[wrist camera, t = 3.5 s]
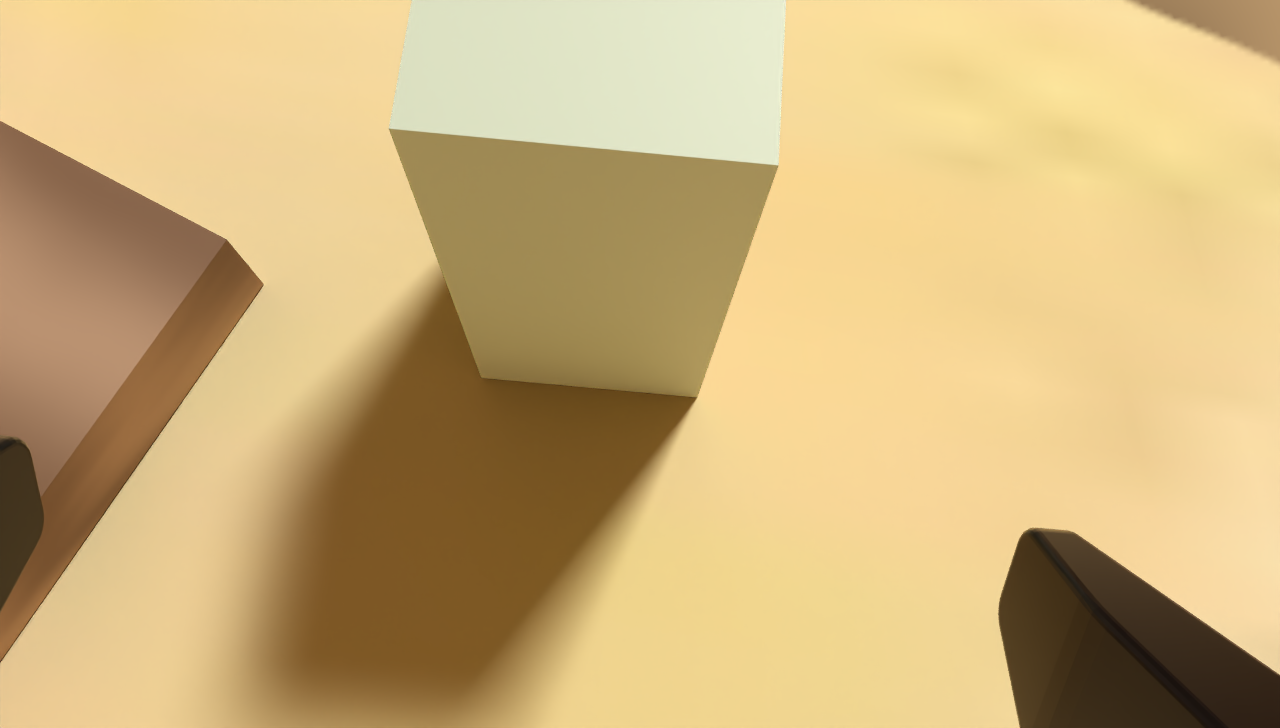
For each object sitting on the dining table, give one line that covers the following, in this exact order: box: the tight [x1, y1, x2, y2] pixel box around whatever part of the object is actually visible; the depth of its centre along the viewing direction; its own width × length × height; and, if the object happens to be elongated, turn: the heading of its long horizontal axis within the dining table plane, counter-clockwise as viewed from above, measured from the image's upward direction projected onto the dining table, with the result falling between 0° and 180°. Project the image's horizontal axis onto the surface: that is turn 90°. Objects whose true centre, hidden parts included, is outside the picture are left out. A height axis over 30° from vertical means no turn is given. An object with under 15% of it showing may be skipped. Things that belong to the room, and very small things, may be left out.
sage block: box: [389, 0, 786, 397], centre depth 19 cm, size 5×5×11 cm
